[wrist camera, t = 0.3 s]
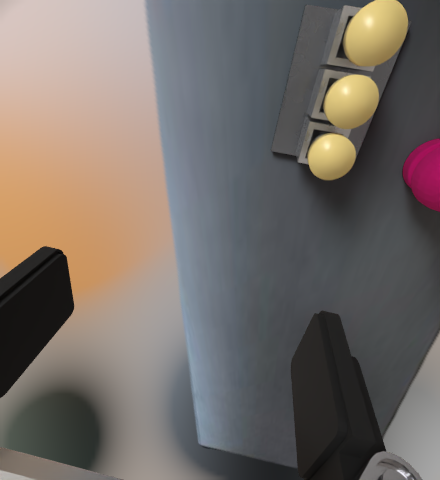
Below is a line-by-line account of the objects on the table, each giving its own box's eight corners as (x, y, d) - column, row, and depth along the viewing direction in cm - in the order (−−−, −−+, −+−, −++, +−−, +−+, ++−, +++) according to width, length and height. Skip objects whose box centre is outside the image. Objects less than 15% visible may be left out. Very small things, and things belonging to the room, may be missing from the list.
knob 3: (309, 121, 29) (317, 131, 24) (348, 128, 29) (363, 140, 24) (298, 159, 31) (303, 175, 26) (334, 166, 31) (345, 183, 26)
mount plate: (304, 6, 28) (310, -5, 23) (407, 22, 27) (432, 13, 23) (270, 149, 35) (271, 160, 31) (350, 163, 34) (361, 177, 30)
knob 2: (324, 70, 26) (336, 70, 22) (367, 77, 26) (388, 79, 22) (311, 115, 29) (319, 124, 24) (350, 122, 28) (366, 133, 24)
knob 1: (342, 8, 24) (360, -6, 19) (389, 15, 24) (419, 2, 19) (326, 63, 26) (339, 61, 21) (369, 70, 26) (391, 70, 21)
